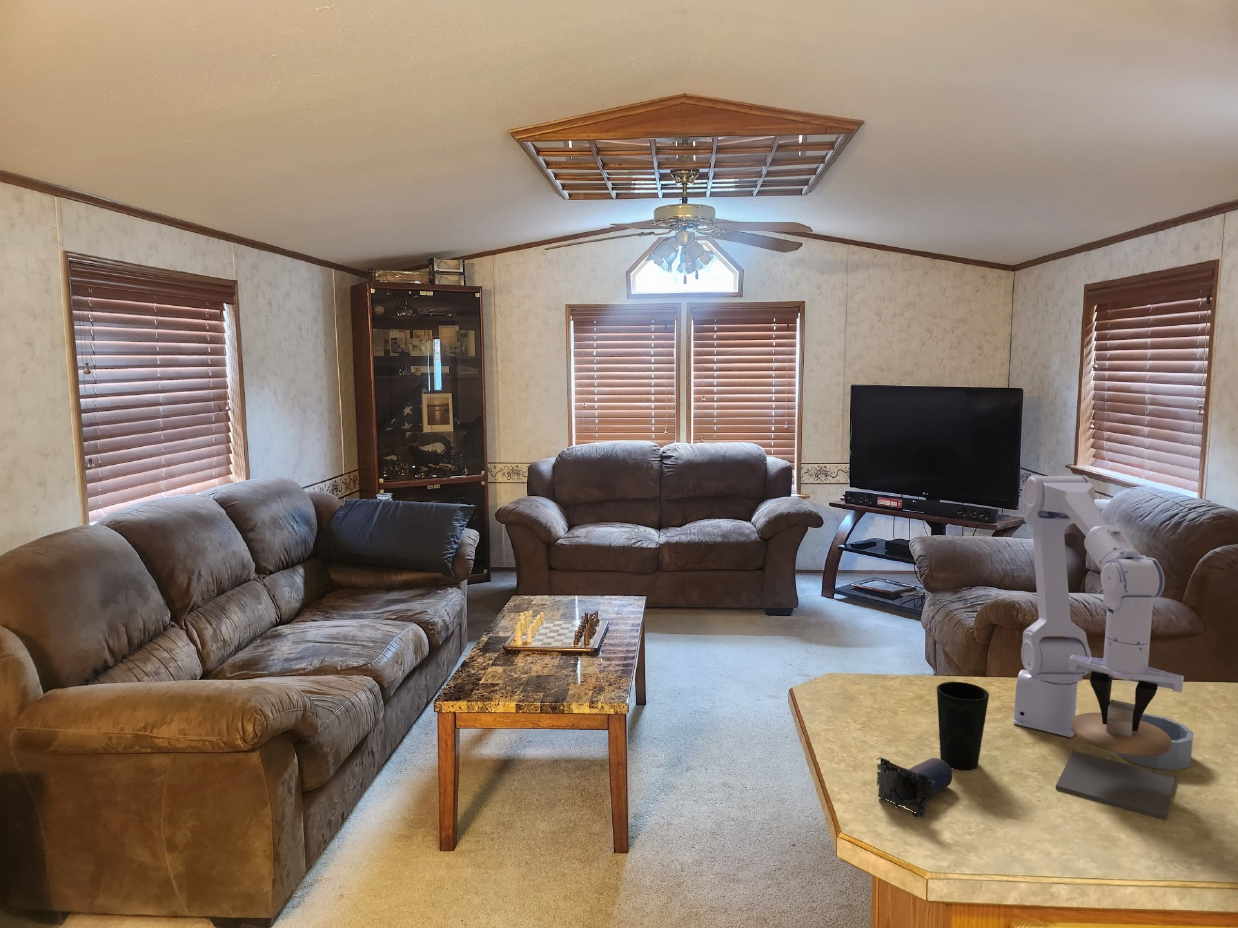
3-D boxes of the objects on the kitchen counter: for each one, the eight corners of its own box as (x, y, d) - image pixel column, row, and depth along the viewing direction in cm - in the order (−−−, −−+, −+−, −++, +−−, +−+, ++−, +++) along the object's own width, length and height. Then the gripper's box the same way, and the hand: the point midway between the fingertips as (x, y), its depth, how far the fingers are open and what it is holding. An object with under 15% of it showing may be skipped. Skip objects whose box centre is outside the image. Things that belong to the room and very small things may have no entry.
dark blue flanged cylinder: (920, 830, 118) (958, 803, 126) (934, 782, 116) (972, 758, 125) (864, 794, 124) (904, 771, 133) (877, 748, 123) (916, 727, 131)
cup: (985, 756, 137) (989, 685, 135) (984, 777, 130) (988, 703, 128) (935, 747, 140) (938, 678, 138) (931, 767, 133) (934, 695, 131)
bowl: (1106, 755, 137) (1108, 729, 136) (1116, 731, 145) (1117, 707, 145) (1187, 776, 130) (1190, 748, 129) (1192, 749, 139) (1195, 723, 138)
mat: (1055, 788, 126) (1055, 785, 126) (1072, 753, 137) (1072, 750, 137) (1166, 819, 118) (1166, 815, 118) (1174, 779, 129) (1175, 776, 129)
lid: (1063, 739, 125) (1065, 708, 125) (1078, 710, 136) (1080, 681, 135) (1166, 764, 118) (1169, 732, 117) (1174, 732, 128) (1177, 701, 127)
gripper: (1067, 635, 126) (1061, 721, 128) (1183, 656, 117) (1175, 748, 119) (1076, 623, 131) (1070, 706, 133) (1187, 642, 123) (1179, 730, 124)
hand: (1120, 725), depth 126 cm, fingers closed on lid, 3 cm apart
